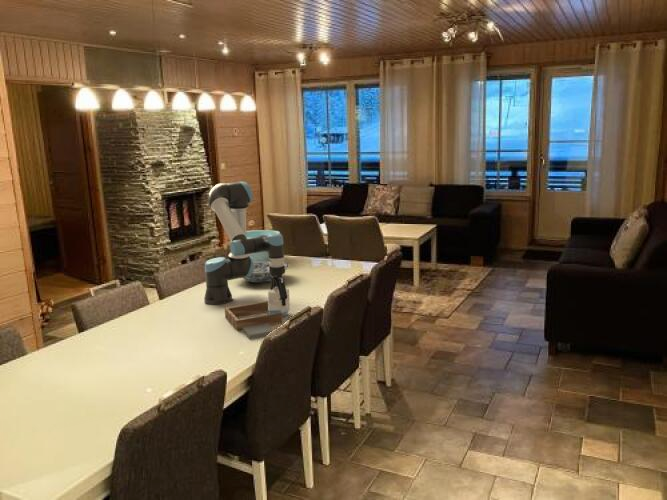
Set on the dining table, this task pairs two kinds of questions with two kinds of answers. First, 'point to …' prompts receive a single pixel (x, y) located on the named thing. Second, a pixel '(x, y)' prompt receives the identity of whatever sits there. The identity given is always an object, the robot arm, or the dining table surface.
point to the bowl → (253, 234)
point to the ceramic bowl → (261, 272)
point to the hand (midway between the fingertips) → (279, 308)
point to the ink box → (277, 301)
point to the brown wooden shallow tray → (250, 309)
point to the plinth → (257, 330)
